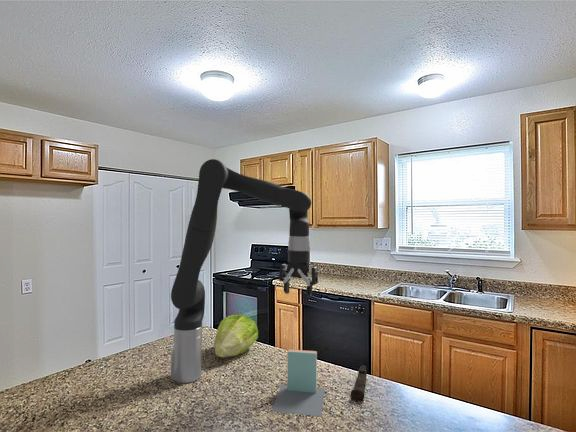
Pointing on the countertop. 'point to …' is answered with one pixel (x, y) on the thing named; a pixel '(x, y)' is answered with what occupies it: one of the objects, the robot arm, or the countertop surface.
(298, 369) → the tile
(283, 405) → the mat
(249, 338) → the lettuce
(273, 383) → the countertop surface
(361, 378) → the hand tool
